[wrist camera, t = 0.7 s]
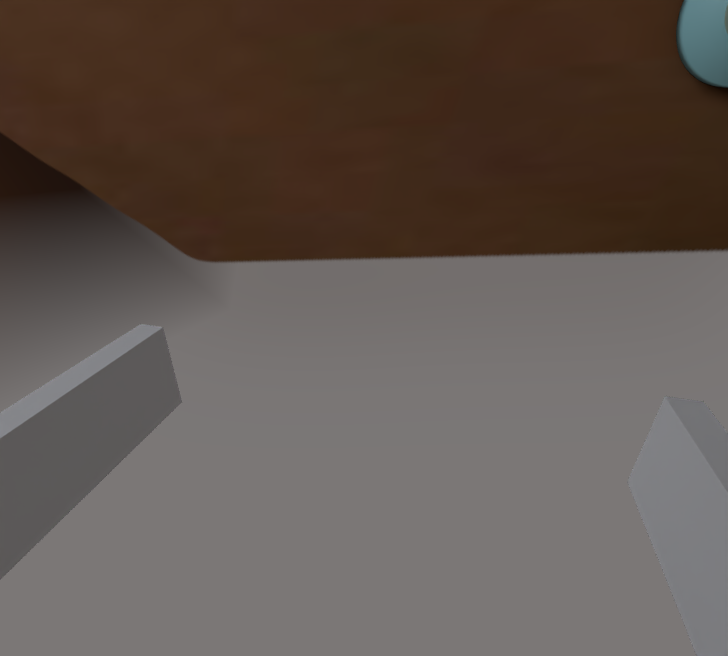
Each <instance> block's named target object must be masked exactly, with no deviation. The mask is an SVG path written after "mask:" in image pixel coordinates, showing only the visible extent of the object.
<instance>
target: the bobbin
mask: <svg viewBox="0 0 728 656" xmlns="http://www.w3.org/2000/svg"><path fill="white" fill-rule="evenodd" d="M676 41H677V48H678V53H679V56H680V58H681V61H682V62H683V64H684V66H685V68H686V69H687V70H688V71H689V72H690V74H692V75H693V76H694V77H695V78H697V79H698V80H700V81H702V82H704V83H706V84H709V85H712V86H717V87H726V88H728V0H684V1H683V4H682V7H681V10H680V13H679V17H678V22H677V30H676Z"/></svg>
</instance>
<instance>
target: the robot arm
mask: <svg viewBox="0 0 728 656" xmlns="http://www.w3.org/2000/svg"><path fill="white" fill-rule="evenodd" d="M181 402H182V400H181V396H180V392H179V388H178V384H177V381H176V377H175V373H174V369H173V365H172V361H171V357H170V353H169V349H168V345H167V341H166V337H165V333H164V329H163V327H158V326H151V325H143V324H140V325H139V326H137V327H135V328H134V329H132V330H131V331H129V332H127V333H126V334H124V335H123V336H121V337H120V338H118V339H116V340H115V341H113V342H112V343H110V344H108V345H107V346H105V347H104V348H102V349H101V350H99V351H97V352H96V353H94V354H93V355H91V356H89V357H88V358H86V359H85V360H83V361H81V362H80V363H78V364H77V365H75V366H73V367H72V368H70V369H69V370H67V371H66V372H64V373H63V374H61V375H59V376H58V377H56V378H54V379H53V380H51V381H50V382H48V383H46V384H45V385H43V386H42V387H40V388H38V389H37V390H36V391H34V392H32V393H31V394H29V395H27V396H26V397H24V398H23V399H21V400H19V401H18V402H16V403H15V404H13V405H12V406H10V407H8V408H7V409H5V410H4V411H2V412H0V579H1V578H2V577H3V576H5V575H6V573H8V572H9V571H10V570H11V569H12V568H13V567H14V566H15V565H16V564H17V563H18V562H19V561H20V560H21V559H22V558H23V557H24V556H25V555H26V554H27V553H28V552H29V551H30V550H31V549H32V548H33V547H34V546H35V545H36V544H37V543H38V542H39V541H40V540H41V539H42V538H43V537H44V536H45V535H46V534H47V533H48V532H50V530H51V529H53V528H54V527H55V526H56V525H57V524H58V523H59V522H60V521H61V520H62V519H63V518H64V517H65V516H66V515H67V514H68V513H69V512H70V511H71V510H72V509H73V508H74V507H75V506H76V505H77V504H78V503H79V502H80V501H81V500H82V499H83V498H84V497H85V496H86V495H87V494H88V493H89V492H90V491H91V490H92V489H93V488H94V487H96V486H97V485H98V484H99V482H101V481H102V480H103V479H104V478H105V477H106V476H107V475H108V474H109V473H110V472H111V471H112V470H113V469H114V468H115V467H116V466H117V465H118V464H119V463H120V462H121V461H122V460H123V459H124V458H125V457H126V456H127V455H128V454H129V453H130V452H131V451H132V450H133V449H134V448H135V447H136V446H137V445H138V444H140V442H142V441H143V440H144V439H145V438H146V437H147V436H148V435H149V434H150V433H151V432H152V431H153V430H154V429H155V428H156V427H157V426H158V425H159V424H160V423H161V422H162V421H163V420H164V419H165V418H166V417H167V416H168V415H169V414H170V413H171V412H172V411H173V410H174V409H175V408H176V407H177V406H178V405H179V404H180V403H181ZM628 485H629V488H630V490H631V493H632V495H633V498H634V500H635V502H636V505H637V507H638V510H639V513H640V515H641V518H642V520H643V523H644V525H645V528H646V530H647V532H648V535H649V537H650V540H651V543H652V545H653V548H654V550H655V552H656V555H657V558H658V560H659V563H660V565H661V568H662V570H663V573H664V575H665V578H666V580H667V583H668V585H669V588H670V590H671V593H672V595H673V598H674V600H675V603H676V605H677V608H678V610H679V613H680V615H681V618H682V620H683V623H684V626H685V628H686V630H687V633H688V636H689V638H690V641H691V643H692V646H693V648H694V650H695V653H696V656H728V433H727V431H726V430H725V429H724V427H723V426H722V425H721V424H720V422H719V421H718V420H717V418H716V417H715V416H714V414H713V413H712V412H711V411H710V409H709V408H708V407H707V405H706V404H705V403H704V402H703V401H696V400H689V399H682V398H673V397H667V396H665V397H664V399H663V402H662V404H661V406H660V409H659V411H658V413H657V415H656V418H655V420H654V422H653V424H652V427H651V429H650V431H649V434H648V436H647V438H646V440H645V443H644V445H643V447H642V450H641V452H640V454H639V456H638V459H637V461H636V463H635V466H634V468H633V470H632V472H631V475H630V477H629V479H628Z"/></svg>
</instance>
